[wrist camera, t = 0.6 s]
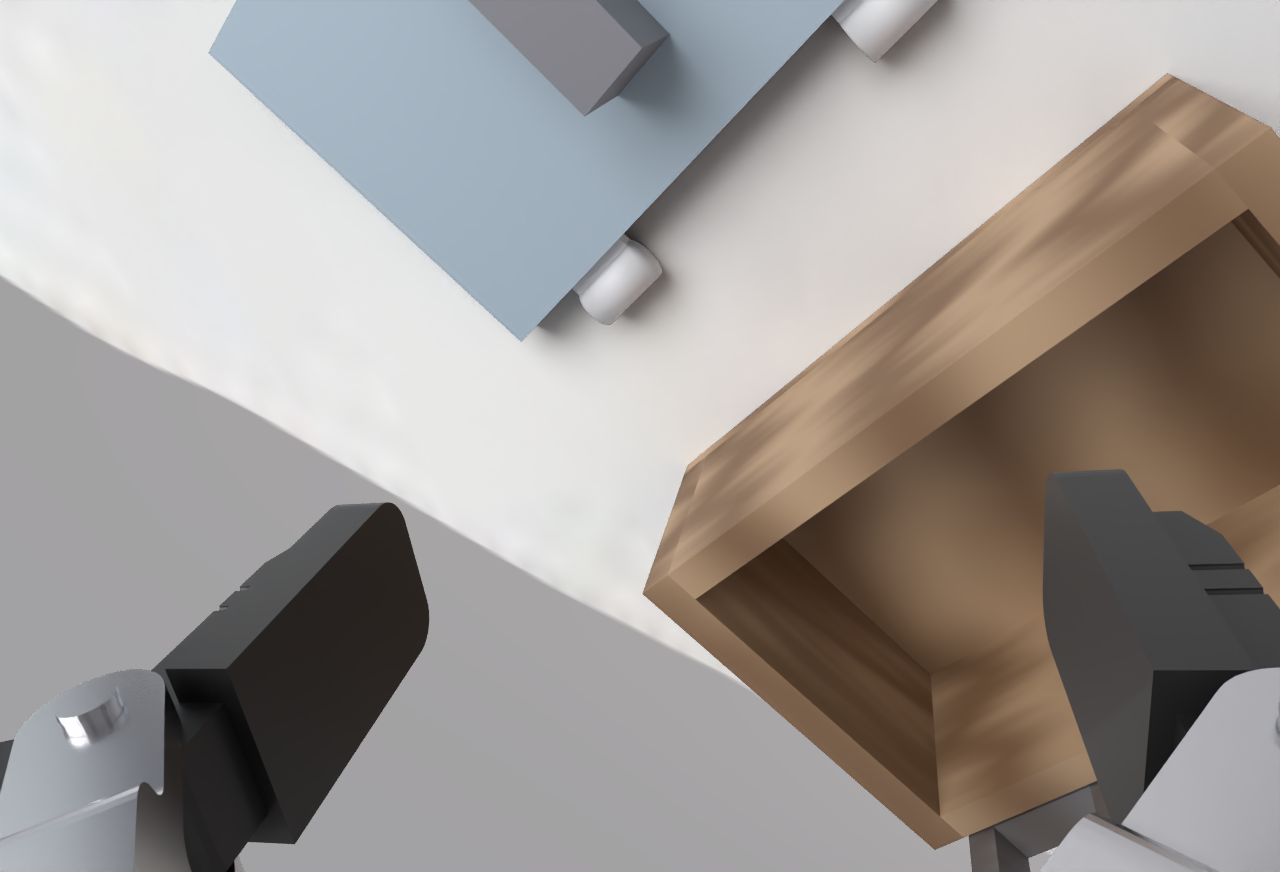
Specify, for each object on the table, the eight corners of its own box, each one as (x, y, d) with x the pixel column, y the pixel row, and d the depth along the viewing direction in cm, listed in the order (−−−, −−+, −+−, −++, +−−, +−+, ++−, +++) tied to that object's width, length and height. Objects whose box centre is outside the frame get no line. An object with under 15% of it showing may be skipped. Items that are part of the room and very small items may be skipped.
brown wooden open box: (1167, 73, 26) (1331, 159, 16) (1480, 449, 29) (1768, 703, 19) (687, 465, 36) (619, 658, 26) (957, 715, 39) (982, 968, 29)
